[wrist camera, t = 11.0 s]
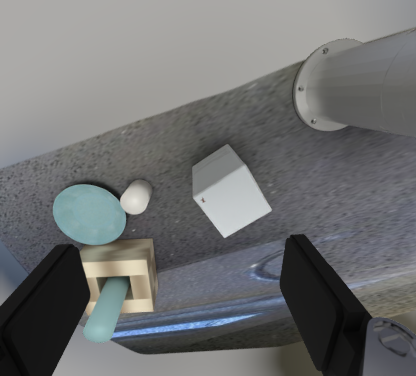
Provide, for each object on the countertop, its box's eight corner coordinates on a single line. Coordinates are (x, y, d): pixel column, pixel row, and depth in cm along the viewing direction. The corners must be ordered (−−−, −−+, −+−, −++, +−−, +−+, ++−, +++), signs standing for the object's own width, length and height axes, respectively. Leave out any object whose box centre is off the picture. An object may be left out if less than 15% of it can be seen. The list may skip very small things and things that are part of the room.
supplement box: (214, 198, 40) (222, 240, 29) (191, 165, 38) (190, 197, 26) (249, 177, 39) (274, 212, 28) (228, 141, 37) (245, 163, 25)
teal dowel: (134, 256, 44) (109, 322, 31) (136, 272, 46) (114, 341, 33) (113, 257, 44) (80, 324, 31) (116, 273, 45) (86, 343, 32)
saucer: (141, 221, 42) (139, 228, 39) (88, 247, 43) (83, 255, 41) (102, 167, 37) (97, 172, 35) (45, 198, 39) (36, 204, 36)
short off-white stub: (151, 179, 38) (145, 190, 34) (153, 200, 40) (148, 213, 35) (127, 179, 38) (118, 191, 33) (130, 201, 40) (122, 214, 35)
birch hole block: (152, 238, 43) (146, 259, 37) (158, 286, 47) (153, 311, 42) (87, 241, 42) (71, 263, 36) (99, 289, 47) (87, 315, 41)
